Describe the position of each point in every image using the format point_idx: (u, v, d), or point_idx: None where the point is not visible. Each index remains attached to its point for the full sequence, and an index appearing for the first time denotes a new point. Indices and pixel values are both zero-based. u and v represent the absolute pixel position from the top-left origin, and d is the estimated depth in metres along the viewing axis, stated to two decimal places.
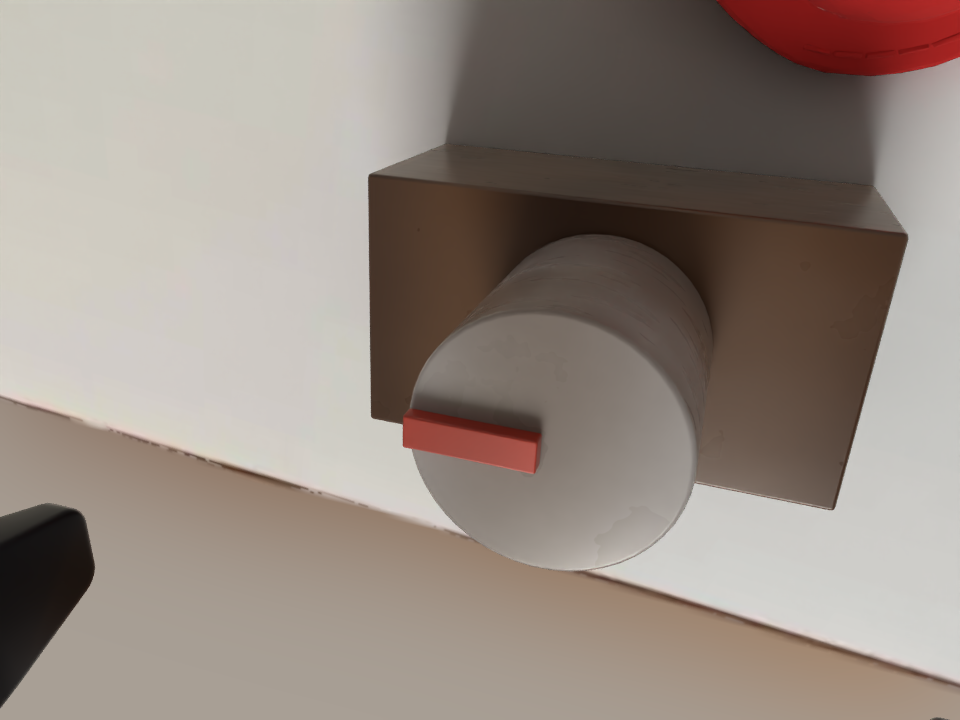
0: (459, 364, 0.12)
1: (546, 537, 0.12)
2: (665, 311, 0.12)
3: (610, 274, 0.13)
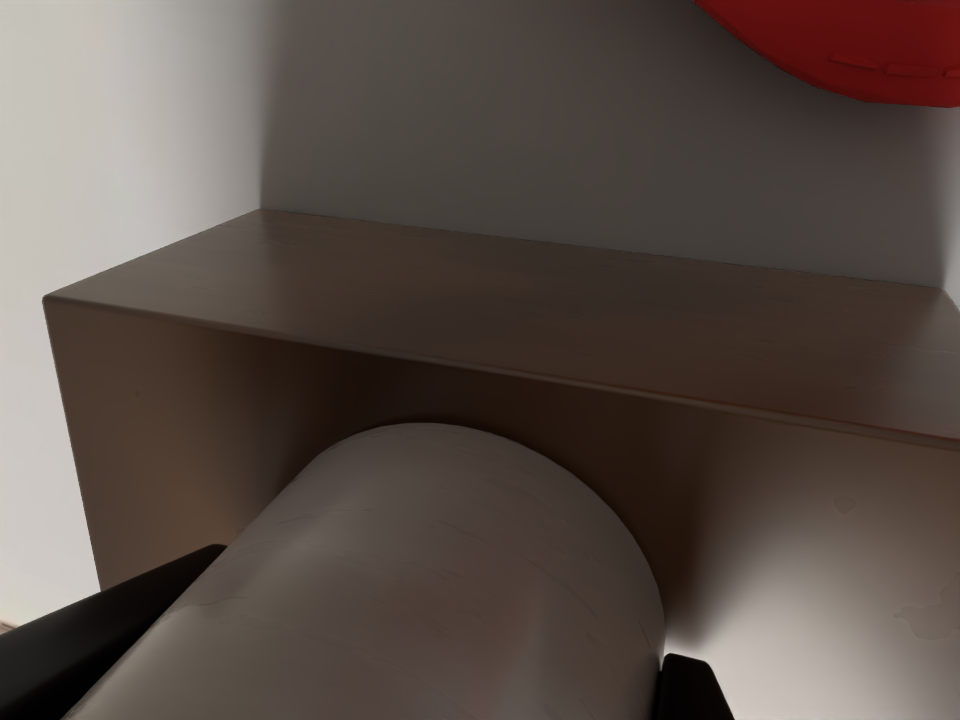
0: None
1: None
2: (532, 694, 0.05)
3: (412, 592, 0.06)
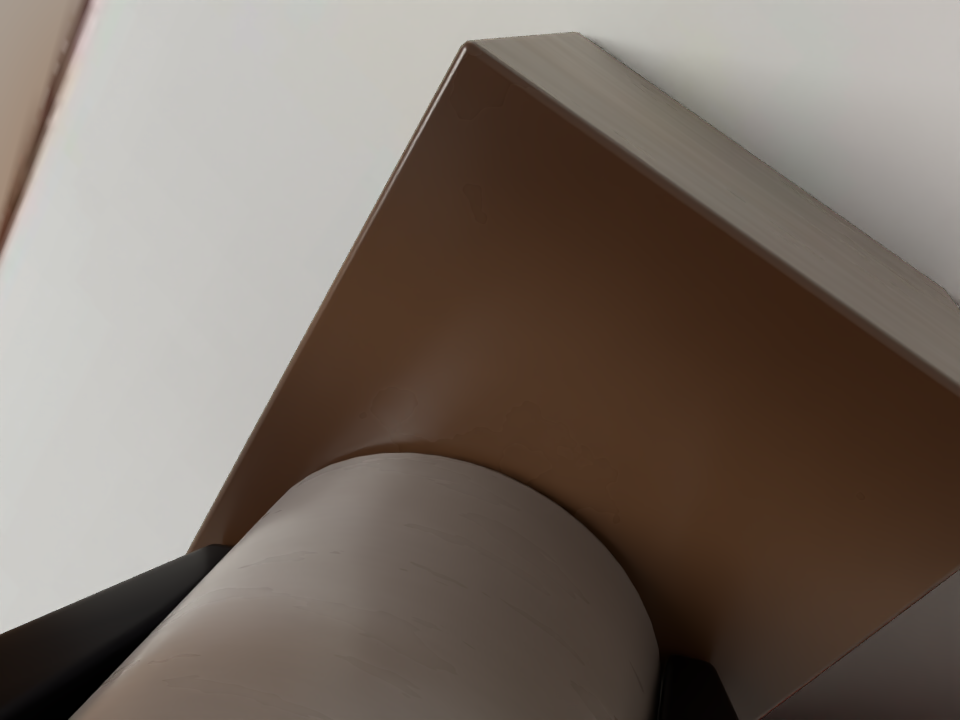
0: None
1: None
2: None
3: (378, 645, 0.05)
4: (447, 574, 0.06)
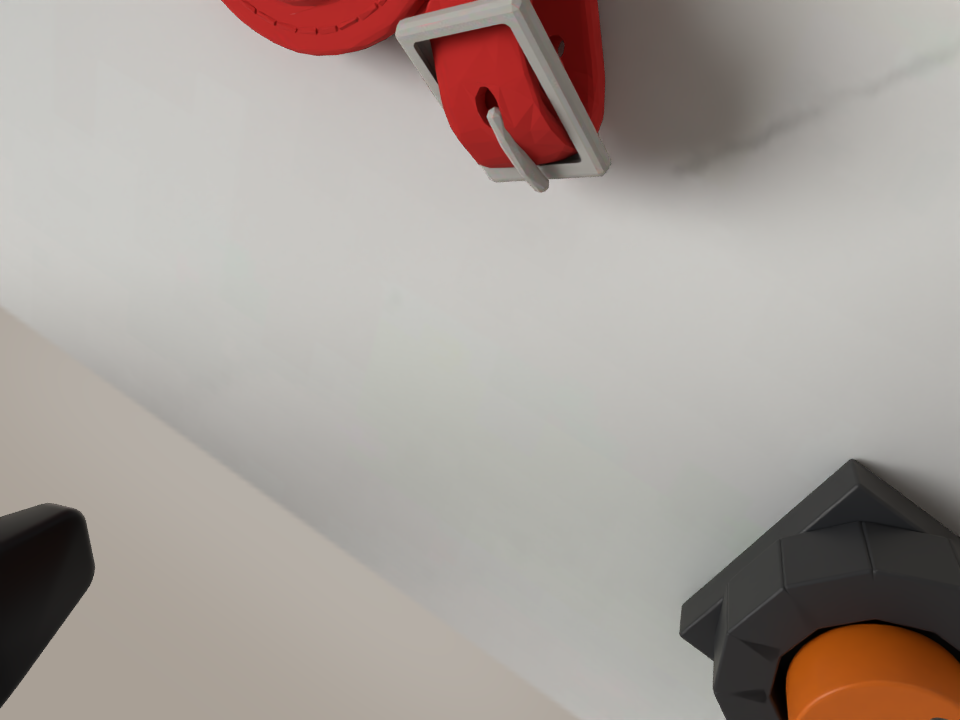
0: None
1: None
2: None
3: None
4: None
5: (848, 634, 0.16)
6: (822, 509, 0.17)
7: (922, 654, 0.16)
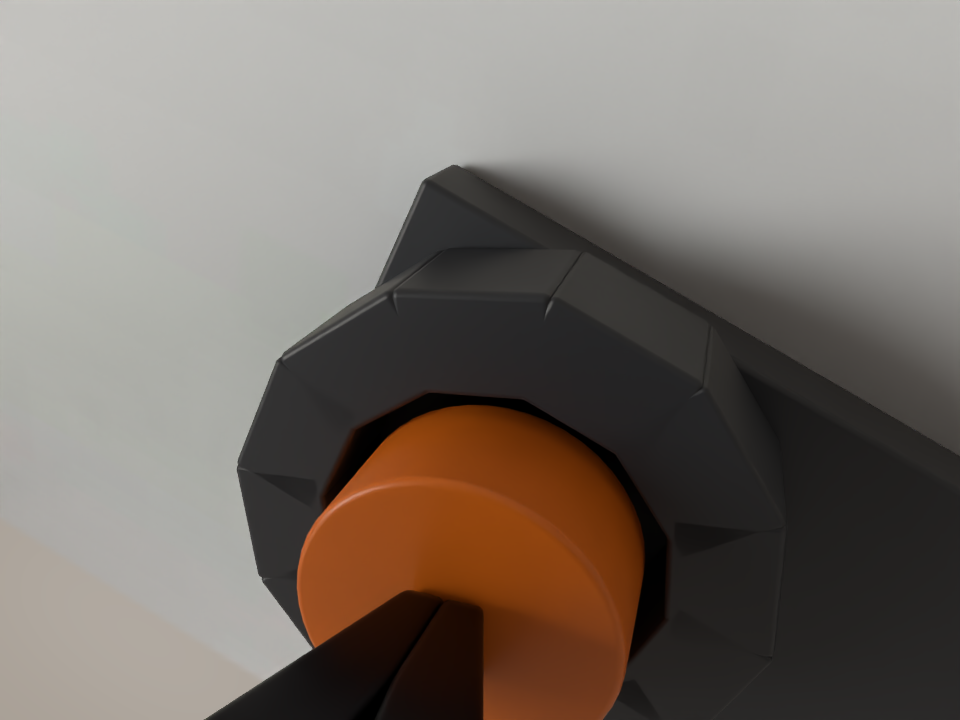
0: None
1: None
2: None
3: None
4: None
5: (403, 429, 0.09)
6: (395, 244, 0.10)
7: (501, 437, 0.08)
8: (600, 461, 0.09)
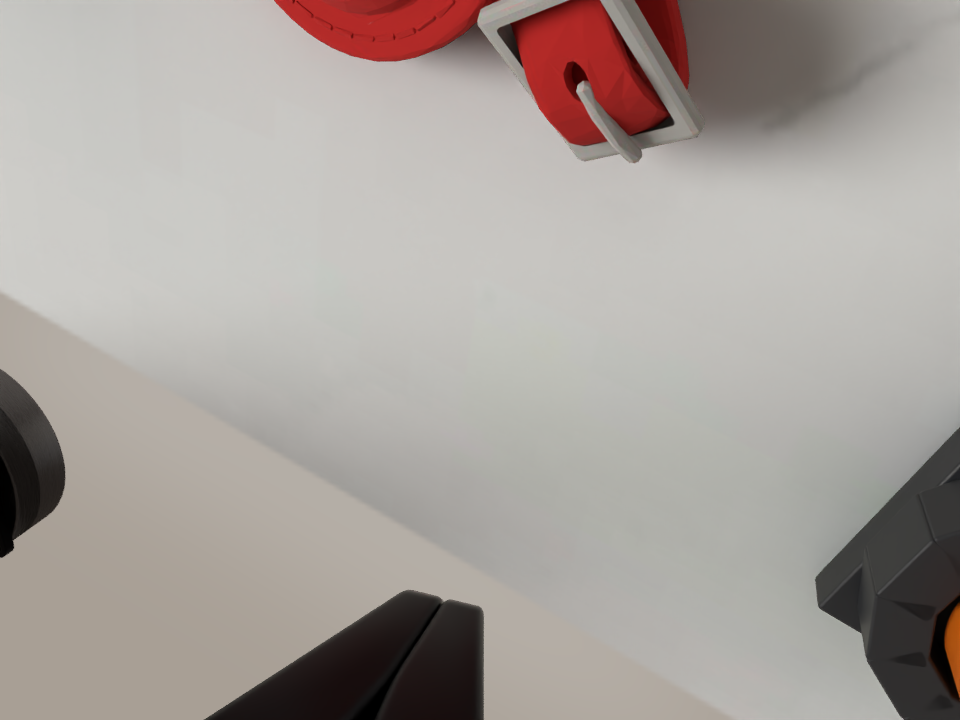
0: None
1: None
2: None
3: None
4: None
5: None
6: None
7: None
8: None
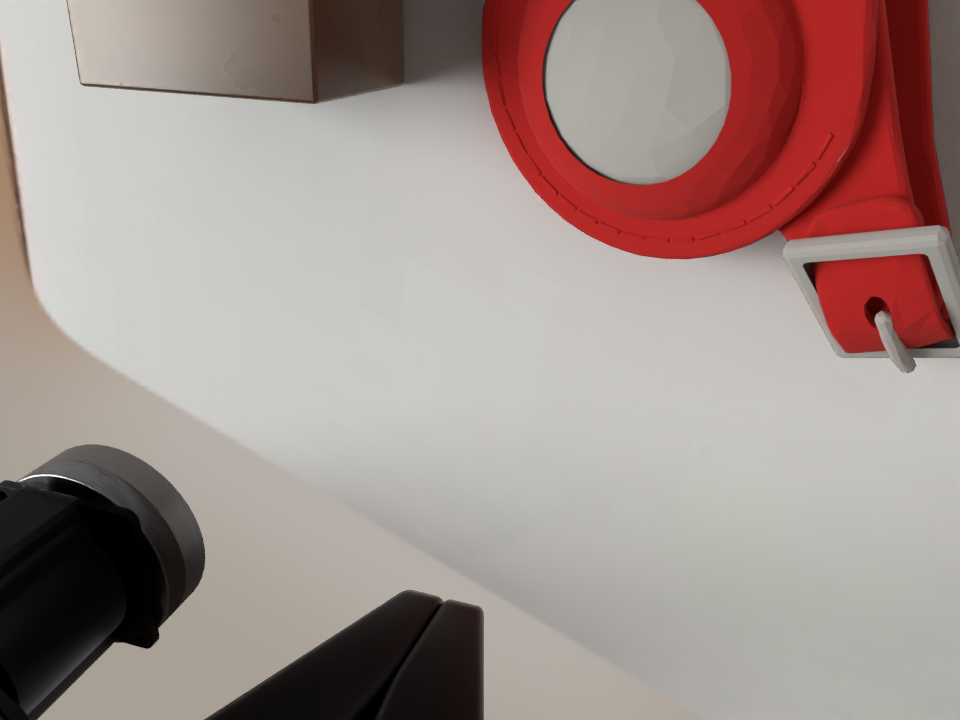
0: None
1: None
2: None
3: None
4: None
5: None
6: None
7: None
8: None
